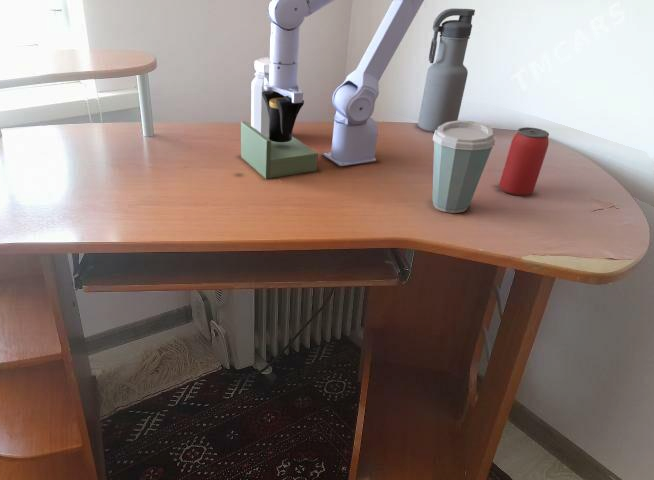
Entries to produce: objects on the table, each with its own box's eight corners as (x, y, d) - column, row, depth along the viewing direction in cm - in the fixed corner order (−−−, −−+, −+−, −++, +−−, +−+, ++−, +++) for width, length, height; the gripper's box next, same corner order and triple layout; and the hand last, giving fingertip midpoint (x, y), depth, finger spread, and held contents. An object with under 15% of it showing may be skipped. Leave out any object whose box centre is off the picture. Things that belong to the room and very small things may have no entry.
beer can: (531, 186, 112) (550, 128, 106) (533, 199, 107) (553, 139, 100) (497, 182, 114) (514, 124, 107) (498, 194, 109) (515, 134, 102)
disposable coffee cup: (469, 223, 98) (490, 141, 89) (411, 209, 103) (426, 129, 94) (483, 203, 105) (504, 125, 97) (428, 190, 110) (444, 115, 101)
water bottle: (417, 132, 141) (439, 11, 125) (414, 121, 149) (434, 6, 133) (457, 134, 140) (485, 12, 124) (452, 123, 148) (478, 7, 132)
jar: (290, 144, 132) (294, 65, 122) (250, 143, 132) (251, 64, 122) (289, 132, 140) (293, 56, 130) (251, 131, 140) (252, 56, 130)
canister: (285, 133, 121) (287, 96, 116) (296, 140, 117) (298, 102, 112) (264, 136, 119) (265, 98, 115) (274, 143, 115) (275, 105, 111)
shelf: (288, 150, 128) (289, 116, 124) (316, 171, 118) (319, 134, 113) (240, 156, 124) (240, 121, 120) (265, 178, 114) (266, 141, 109)
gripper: (251, 56, 113) (250, 121, 121) (281, 70, 102) (278, 141, 110) (282, 54, 116) (279, 118, 123) (314, 67, 105) (309, 137, 112)
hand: (280, 129), depth 117 cm, fingers closed on canister, 5 cm apart
